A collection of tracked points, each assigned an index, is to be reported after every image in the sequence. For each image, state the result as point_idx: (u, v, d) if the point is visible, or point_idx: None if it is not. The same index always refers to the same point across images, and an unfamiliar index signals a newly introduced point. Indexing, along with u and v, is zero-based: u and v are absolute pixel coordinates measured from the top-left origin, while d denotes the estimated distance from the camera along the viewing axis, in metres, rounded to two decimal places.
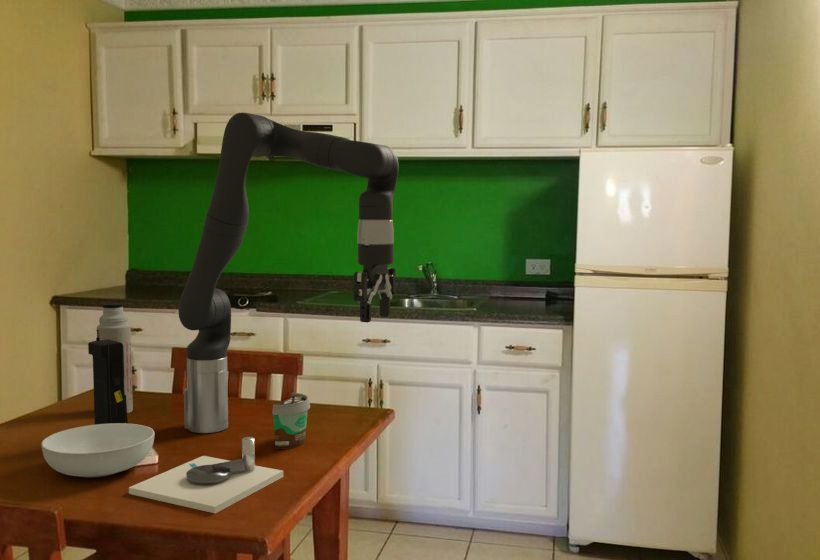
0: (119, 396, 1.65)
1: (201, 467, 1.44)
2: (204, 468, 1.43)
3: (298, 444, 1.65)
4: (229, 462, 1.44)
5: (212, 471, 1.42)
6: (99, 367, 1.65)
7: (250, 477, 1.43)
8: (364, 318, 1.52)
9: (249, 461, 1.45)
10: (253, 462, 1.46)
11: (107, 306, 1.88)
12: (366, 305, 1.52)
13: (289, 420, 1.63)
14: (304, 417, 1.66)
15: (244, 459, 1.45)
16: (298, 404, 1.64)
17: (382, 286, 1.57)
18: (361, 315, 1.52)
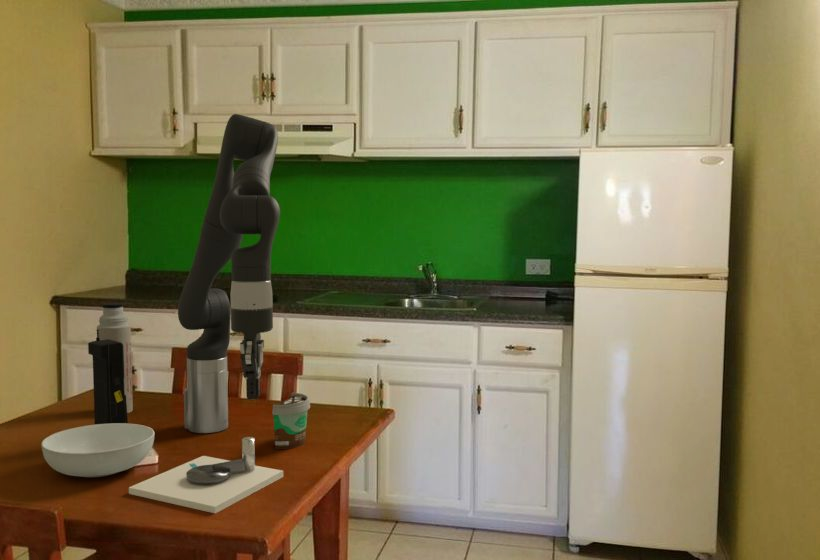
0: (119, 396, 1.65)
1: (201, 467, 1.44)
2: (204, 468, 1.43)
3: (298, 444, 1.65)
4: (229, 462, 1.44)
5: (212, 471, 1.42)
6: (99, 367, 1.65)
7: (250, 477, 1.43)
8: None
9: (249, 461, 1.45)
10: (253, 462, 1.46)
11: (107, 306, 1.88)
12: None
13: (289, 420, 1.63)
14: (304, 417, 1.66)
15: (244, 459, 1.45)
16: (298, 404, 1.64)
17: None
18: None
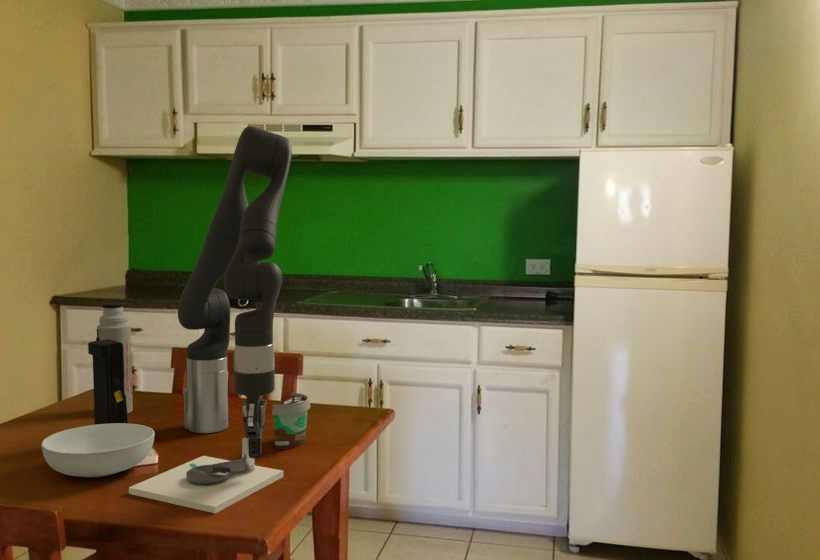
0: (119, 396, 1.65)
1: (201, 467, 1.44)
2: (204, 468, 1.43)
3: (298, 444, 1.65)
4: (229, 462, 1.44)
5: (212, 471, 1.42)
6: (99, 367, 1.65)
7: (250, 477, 1.43)
8: None
9: (249, 461, 1.45)
10: (253, 462, 1.46)
11: (107, 306, 1.88)
12: None
13: (289, 420, 1.63)
14: (304, 417, 1.66)
15: (244, 459, 1.45)
16: (298, 404, 1.64)
17: None
18: None
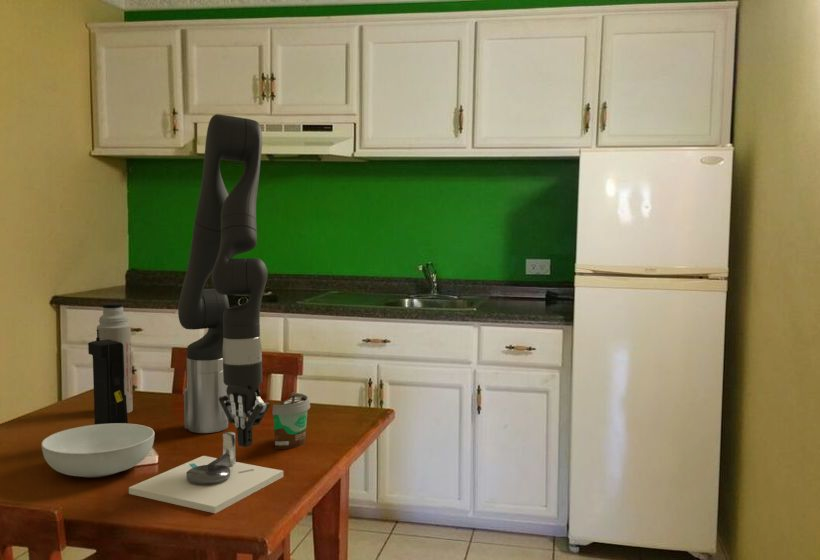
0: (119, 396, 1.65)
1: (193, 470, 1.42)
2: (198, 470, 1.42)
3: (298, 444, 1.65)
4: (219, 459, 1.45)
5: (211, 470, 1.42)
6: (99, 367, 1.65)
7: (250, 477, 1.43)
8: None
9: (233, 455, 1.49)
10: (235, 455, 1.50)
11: (107, 306, 1.88)
12: (238, 428, 1.49)
13: (289, 420, 1.63)
14: (304, 417, 1.66)
15: (229, 454, 1.48)
16: (298, 404, 1.64)
17: (238, 403, 1.48)
18: None
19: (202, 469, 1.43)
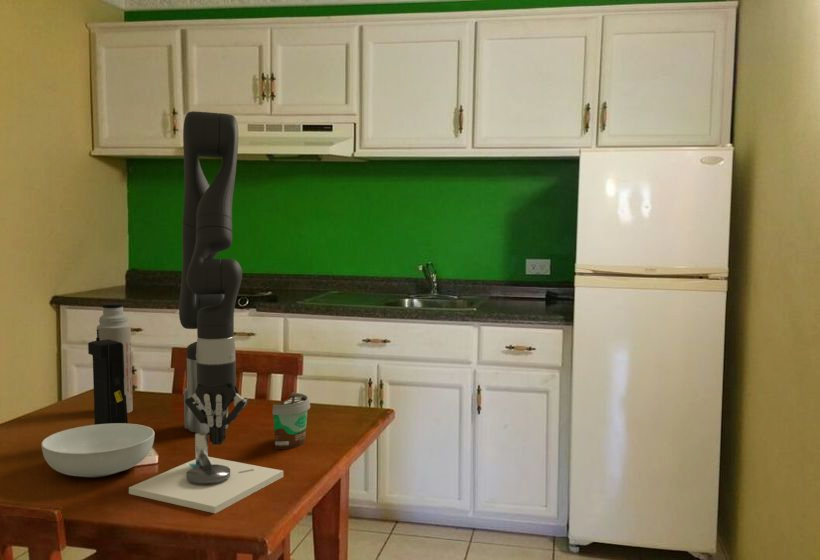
0: (119, 396, 1.65)
1: (192, 474, 1.40)
2: (197, 473, 1.41)
3: (298, 444, 1.65)
4: (204, 459, 1.45)
5: (209, 470, 1.42)
6: (99, 367, 1.65)
7: (250, 477, 1.43)
8: None
9: (207, 454, 1.49)
10: None
11: (107, 306, 1.88)
12: (210, 427, 1.50)
13: (289, 420, 1.63)
14: (304, 417, 1.66)
15: (205, 453, 1.48)
16: (298, 404, 1.64)
17: (213, 402, 1.49)
18: None
19: (198, 471, 1.42)
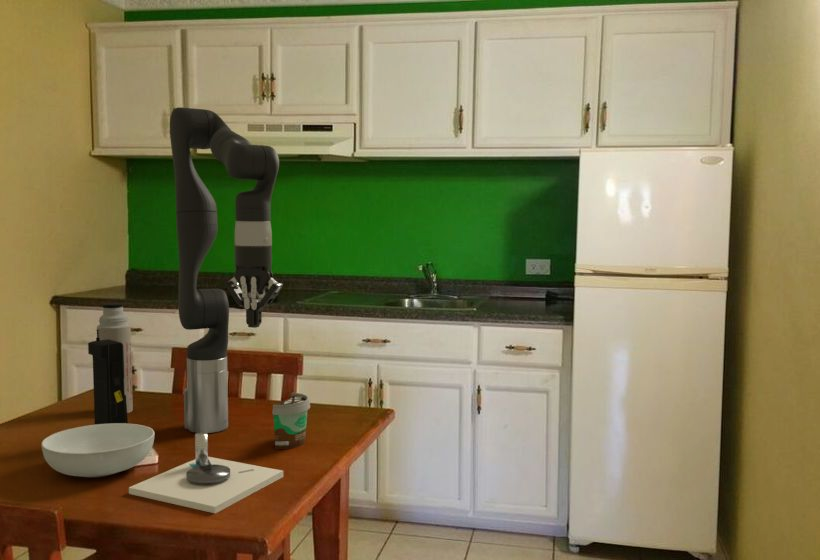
0: (119, 396, 1.65)
1: (192, 474, 1.40)
2: (197, 473, 1.41)
3: (298, 444, 1.65)
4: (204, 459, 1.45)
5: (209, 470, 1.42)
6: (99, 367, 1.65)
7: (250, 477, 1.43)
8: None
9: (207, 454, 1.49)
10: None
11: (107, 306, 1.88)
12: (247, 310, 1.55)
13: (289, 420, 1.63)
14: (304, 417, 1.66)
15: (205, 453, 1.48)
16: (298, 404, 1.64)
17: (249, 285, 1.53)
18: None
19: (198, 471, 1.42)
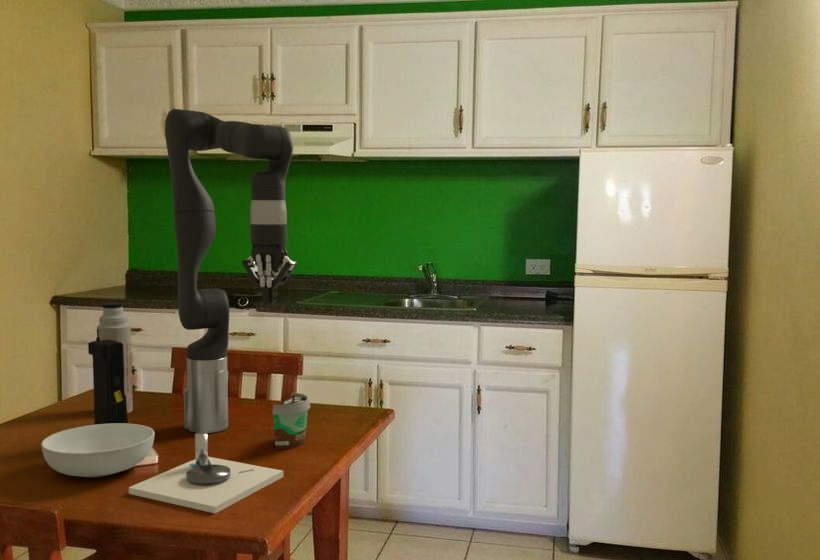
0: (119, 396, 1.65)
1: (192, 474, 1.40)
2: (197, 473, 1.41)
3: (298, 444, 1.65)
4: (204, 459, 1.45)
5: (209, 470, 1.42)
6: (99, 367, 1.65)
7: (250, 477, 1.43)
8: None
9: (207, 454, 1.49)
10: None
11: (107, 306, 1.88)
12: (262, 288, 1.58)
13: (289, 420, 1.63)
14: (304, 417, 1.66)
15: (205, 453, 1.48)
16: (298, 404, 1.64)
17: (264, 263, 1.57)
18: None
19: (198, 471, 1.42)
